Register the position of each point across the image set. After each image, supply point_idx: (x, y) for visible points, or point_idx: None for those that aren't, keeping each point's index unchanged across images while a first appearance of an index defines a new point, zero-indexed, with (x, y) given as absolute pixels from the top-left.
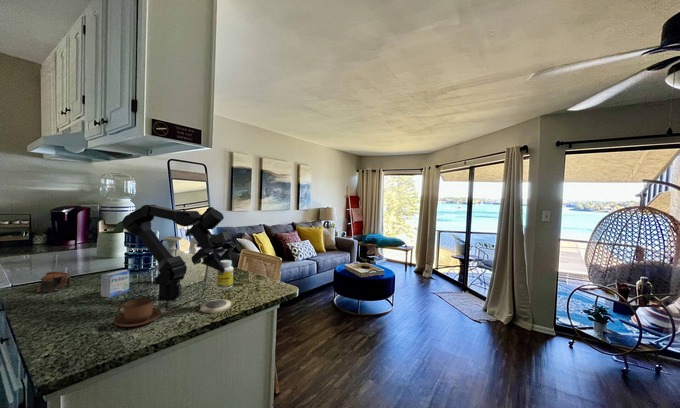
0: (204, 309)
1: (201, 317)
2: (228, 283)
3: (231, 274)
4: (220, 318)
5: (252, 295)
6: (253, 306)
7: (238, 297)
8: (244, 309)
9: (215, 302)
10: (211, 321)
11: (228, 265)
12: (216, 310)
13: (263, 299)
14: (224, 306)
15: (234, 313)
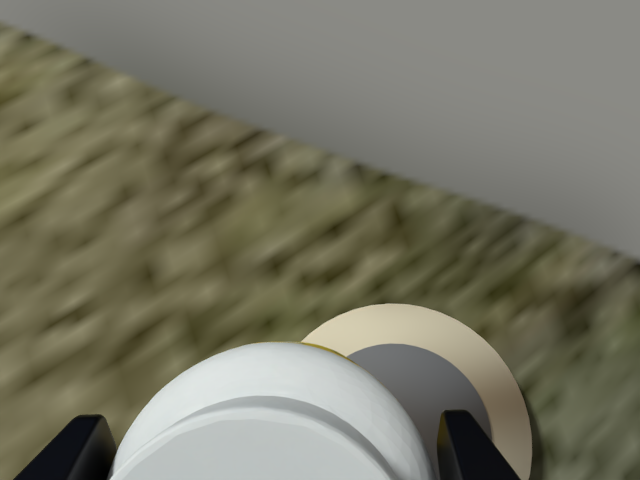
0: (530, 461)
1: (604, 409)
2: (343, 355)
3: (291, 342)
4: (561, 249)
5: (19, 292)
6: (264, 140)
7: (104, 391)
8: (344, 174)
9: None
10: (632, 280)
11: (330, 413)
12: (494, 351)
13: (90, 143)
14: (414, 328)
15: (442, 204)
